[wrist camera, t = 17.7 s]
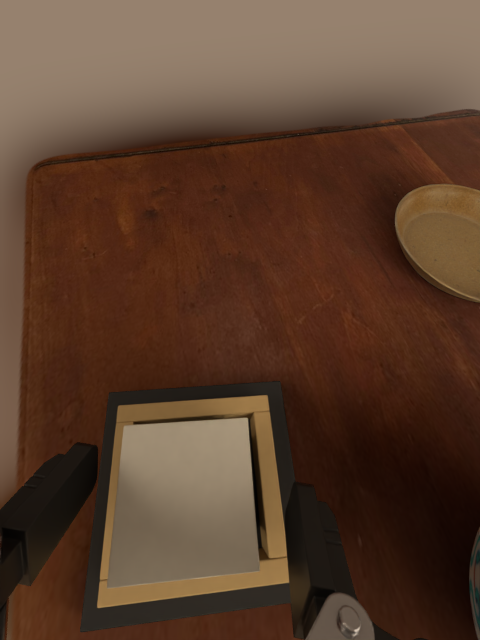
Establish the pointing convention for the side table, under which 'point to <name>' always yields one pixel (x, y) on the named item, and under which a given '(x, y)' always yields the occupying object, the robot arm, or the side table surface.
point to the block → (184, 503)
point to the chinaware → (475, 583)
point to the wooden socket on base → (269, 496)
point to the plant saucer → (443, 237)
